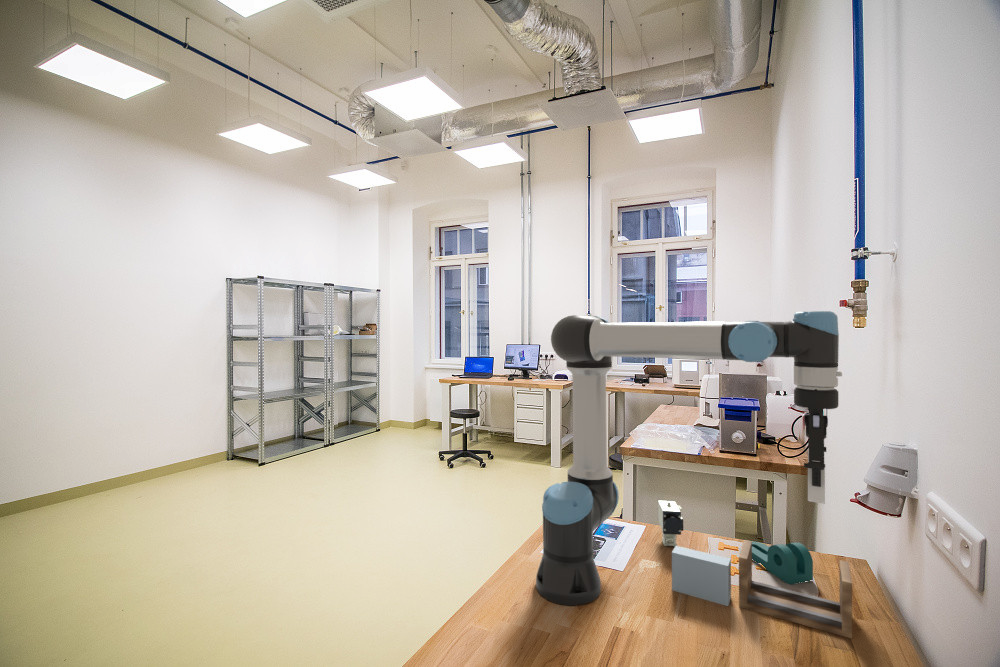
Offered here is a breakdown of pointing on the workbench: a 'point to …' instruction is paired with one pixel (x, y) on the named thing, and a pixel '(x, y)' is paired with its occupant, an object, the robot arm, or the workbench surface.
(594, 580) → the robot arm
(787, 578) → the bracket
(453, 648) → the workbench surface
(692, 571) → the door panel
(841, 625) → the track
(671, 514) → the pneumatic valve
